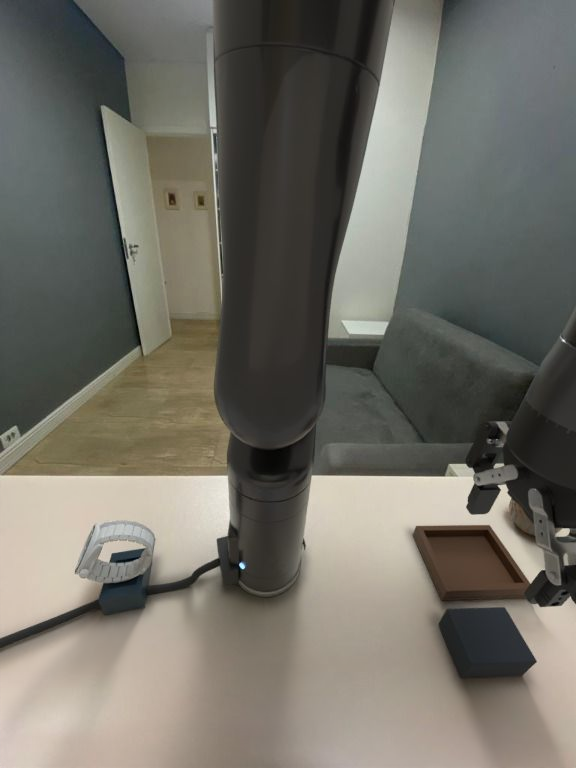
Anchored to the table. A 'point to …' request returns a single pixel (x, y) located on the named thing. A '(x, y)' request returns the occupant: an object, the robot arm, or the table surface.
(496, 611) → the dark blue rectangular block
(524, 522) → the vase
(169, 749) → the table surface
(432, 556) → the brown tray
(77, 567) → the watch
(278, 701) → the table surface
